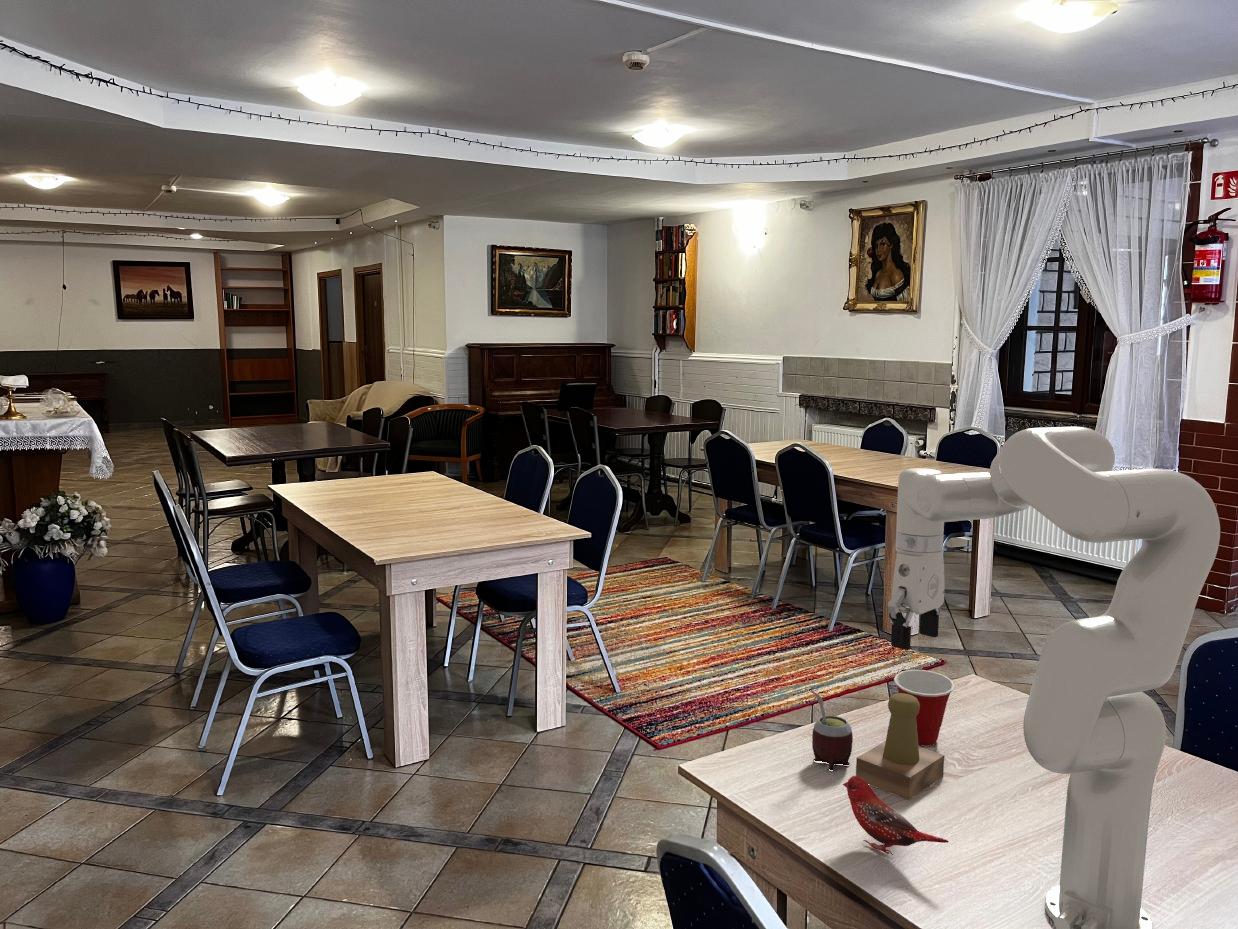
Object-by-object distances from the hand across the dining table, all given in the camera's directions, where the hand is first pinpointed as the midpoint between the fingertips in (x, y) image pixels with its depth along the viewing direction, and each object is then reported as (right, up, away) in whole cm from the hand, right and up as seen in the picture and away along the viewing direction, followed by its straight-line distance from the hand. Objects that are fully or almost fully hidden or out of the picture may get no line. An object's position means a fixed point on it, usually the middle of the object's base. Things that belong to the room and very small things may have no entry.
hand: (914, 641), depth 156 cm
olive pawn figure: (-1, -21, +3) cm, 21 cm away
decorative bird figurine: (-10, -28, -20) cm, 36 cm away
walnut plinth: (-1, -25, +4) cm, 25 cm away
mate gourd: (-12, -24, +9) cm, 28 cm away
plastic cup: (+7, -23, +19) cm, 31 cm away
